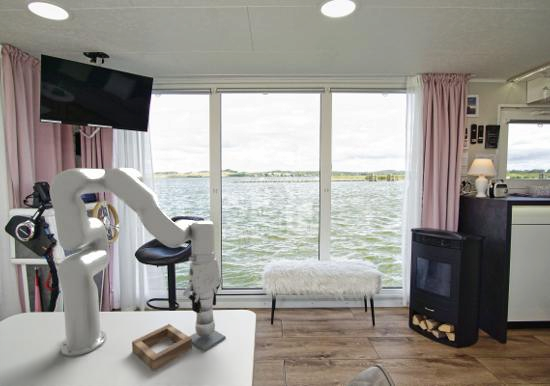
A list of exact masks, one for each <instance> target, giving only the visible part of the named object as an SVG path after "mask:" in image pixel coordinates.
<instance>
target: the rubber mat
mask: <svg viewBox="0 0 550 386" xmlns="http://www.w3.org/2000/svg"><path fill="white" fill-rule="evenodd" d="M189 337H190V338H192V346H195V347H196V348H197V349H200V350H201V351H202V352H204V353H205V352H206V351H208V350H210V349H211V348H213V347H215V346H217V344H219V343H221V342H223V341H224V340H225V339H226V335H224V334H222V333H221V332H219V331H216V330H214V332H213V333H212V334H211V335H210V336H206V337H201V336H199V335H198V334H197V333H196V332H195V333H193V334H191V335H189Z"/></svg>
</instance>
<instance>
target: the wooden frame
mask: <svg viewBox="0 0 550 386" xmlns="http://www.w3.org/2000/svg"><path fill="white" fill-rule="evenodd" d="M189 336H190V335H189ZM189 336H188V335H187V334H185V332H182V331H181V330H179V329H177V328H176V327H175V326H173V325H171V324H170V323H168V324H166V325H164V326H162V327H160V328H158V329H155V330H154V331H152V332H149V333H147V334H145V335H142V336H140V337H139V338H137V339H135V340H132V341H131V347H132V348H131V349H132V353H133V354H134V355H135V356H136V357H137V358H138V359H140V360H141V361H142V362H143V363H144V364H145V365H146V366H147V367H148V368H149V369H151V371H153V372H155V371H156V370H159V369H160V368H162V367H164V366H165V365H168V364H169V363H171V362H172V361H174V360H175V359H177V358H179V357H181V356H182V355H185V353H187V352H189V351H190V350H193V344H192V338H190V337H189ZM166 339H168V340H170V341H171V342H172V343H173V344H172V345H169V346H168V347H166V348H164V349H162V350H160V351H159V352H155V351H154V350H153V349H152V348H150V347H152V346H154V345H157V344H158V343H161V342H162V341H165V340H166Z"/></svg>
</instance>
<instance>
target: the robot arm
mask: <svg viewBox="0 0 550 386" xmlns="http://www.w3.org/2000/svg"><path fill="white" fill-rule="evenodd" d="M97 193H98V194H99V193H111V194H113V195H114V196H115V197H117V198H118V199H119V200H120V201H121V202H123V203H124V204H125V205H126V206H128V207H129V208H130V209H131V210H133V212H134V213H136V215H137V217H138V218H139V220H140V222H141V224H142V225H143V227H144V229H146V231H148V233H149V234H150V235H151V236H153V237H154V238H155V239H156V240H157V241H158V242H160V243H162V244H163V245H164V246H165V247H168V248H172V249H174V248H179V247H181V246H182V245H183V244H185V243H186V242H187V241H191V243H190V244H191V256H190V257H189V258H188V261H189V262H190V264H189V269H188V270H189V271H188V285H187V286H186V288H185V289H184V291H183V293H182V295H183V296H184V297H186V298H187V299H189V300H191V309H192V311H193V312H194V313H196V314H197V313H199V312H200V302H199V301H198V299H199V295H200V294H202V293H204V292H207V291H209V290H211V289H213V291H214V296H213V306H216V305H217V293H218V290H219V288H220V286H221V284H222V283H223V278H221V277H220V269H219V264H218V259H217V258H215V256H216V255H215V225H214V222H213V221H211V220H207V219H206V220H191V219H178V220H175V222H174V221H173V220H172V219H171V218H170V217H168V216H167V215H166V213H164V211H163V210H162V208H161V207H160V205H159V198H158V195H157V194H156V193H155V192H154V191H153V190H151V189H150V188H149V187H148V186H147V185H146V184H144V179H143V175H142V174H141V173H140V172H139V171H138V170H137V169H135V168H131V167H114V168H92V167H91V168H87V167H74V168H68V169H66V170H63V171H60V172H59V173H58V174H57V175H55V176H54V177H53V179H52V180H51V183H50V186H49V196H50V200H51V204H52V208H53V212H54V214H53V215H54V221H55V226H56V233H57V240H58V244H59V246H60V247H61V248H62V249H63V250H65V251H70V252H71V251H77V250H80V249H81V250H80V251H78V252H76V253H73V254H71V255H69V256H68V257H66V258H65V259H63V261H61V262H60V264H59V266H58V267H57V278H58V281H59V284H60V286H61V293H62V299H63V300H62V301H63V313H64V327H65V328H64V329H65V340H66V341H65V342H64V343H62V344H61V347H60V352H61V353H60V354H62V355H63V356H67V357H75V356H81V355H84V354H88V353H90V352H93V351H94V350H96V349H98V348H99V347H100V346H102V345H103V344H104V343H105V342H106V339H107V334H106V332H104V331H102V330H101V319H100V315H101V314H100V300H99V290H98V285H97V284H96V282H95V280H94V276H96V275H97V274H98V273H100V272H101V271H103V270H105V269H106V268H107V267H108V266H109V264H110V260H111V254H110V253H111V251H110V246H109V238H108V231H107V228H106V226H105V224H104V222H102V220H100V219H99V218H98V217H97V218H96V217H91V216H88V211H87V206H86V204H85V202H84V200H83V199H82V196H83V195H86V194H87V195H88V194H97ZM195 293H196V295H195Z"/></svg>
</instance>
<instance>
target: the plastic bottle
mask: <svg viewBox="0 0 550 386" xmlns="http://www.w3.org/2000/svg"><path fill="white" fill-rule="evenodd" d="M195 295H196V293H195ZM213 296H214V291H213V289H211V290H209V291H207V292H204V293H202V294H200V295H199V299H198V301H199V302H200V312H199V313H196V321H195V326H194V328H195V333H197V334H198V335H199V336H201V337H206V336H210V335H211V334H212V333H213V332H214V330H215V329H216V322H215V319H214V312H213V309H214V308H213V307H214V305H213ZM215 331H216V330H215Z"/></svg>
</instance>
